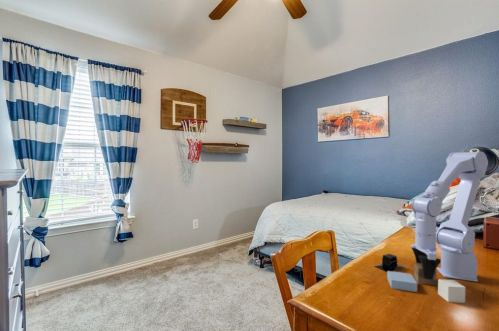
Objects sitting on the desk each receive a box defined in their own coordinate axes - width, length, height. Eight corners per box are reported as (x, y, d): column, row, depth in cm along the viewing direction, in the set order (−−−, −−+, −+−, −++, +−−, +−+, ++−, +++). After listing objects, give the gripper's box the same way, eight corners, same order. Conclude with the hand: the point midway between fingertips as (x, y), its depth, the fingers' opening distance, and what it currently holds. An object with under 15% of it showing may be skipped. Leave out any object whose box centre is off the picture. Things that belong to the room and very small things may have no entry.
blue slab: (410, 282, 85) (411, 274, 85) (417, 293, 78) (417, 283, 78) (387, 279, 87) (387, 270, 87) (391, 289, 81) (391, 279, 81)
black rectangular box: (387, 276, 91) (387, 262, 91) (368, 267, 98) (368, 255, 98) (410, 268, 97) (410, 255, 97) (391, 261, 104) (391, 249, 104)
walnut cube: (431, 279, 87) (431, 264, 87) (436, 285, 83) (436, 270, 83) (414, 276, 89) (414, 262, 89) (418, 283, 84) (418, 268, 84)
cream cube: (453, 294, 77) (454, 280, 77) (465, 303, 73) (465, 287, 73) (437, 294, 78) (438, 279, 77) (448, 302, 73) (448, 286, 73)
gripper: (406, 227, 94) (405, 263, 94) (417, 238, 80) (416, 281, 80) (429, 228, 91) (428, 266, 92) (444, 240, 78) (443, 284, 78)
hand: (424, 273), depth 86 cm, fingers open, 7 cm apart
